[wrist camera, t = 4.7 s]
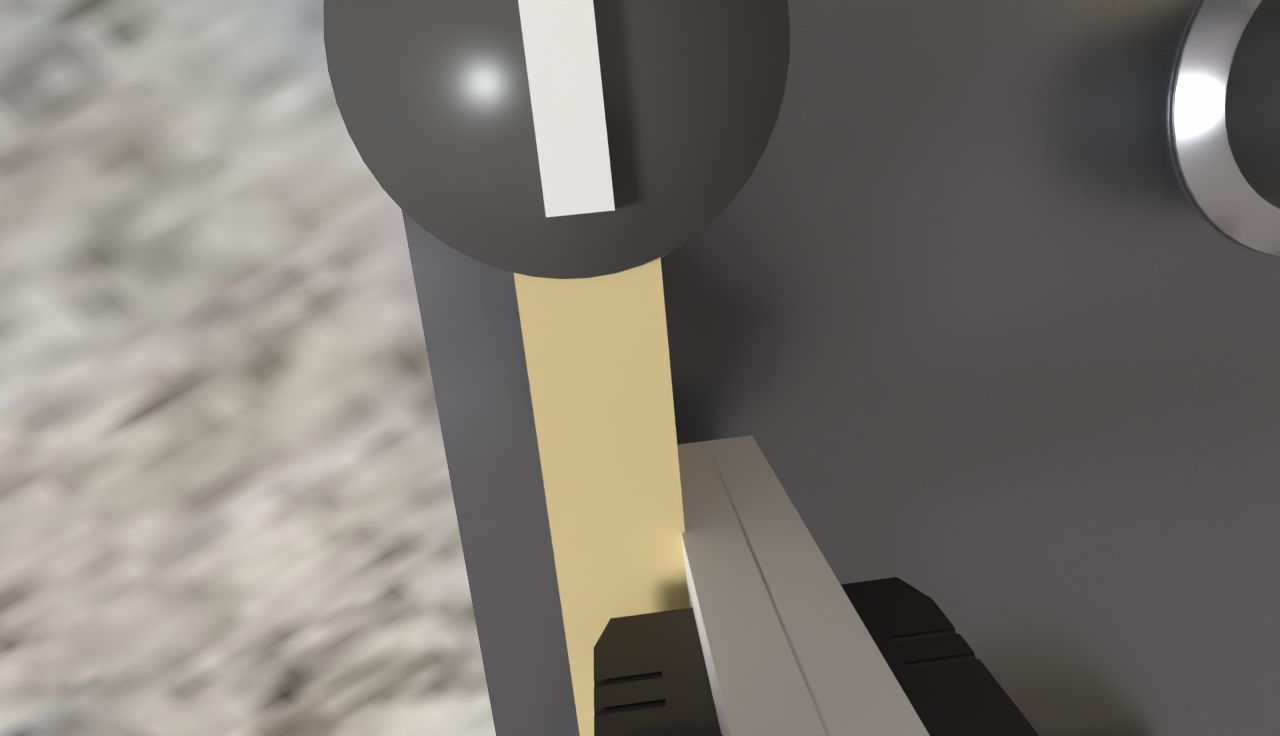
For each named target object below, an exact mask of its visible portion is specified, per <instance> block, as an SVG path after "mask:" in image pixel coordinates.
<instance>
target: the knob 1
mask: <svg viewBox="0 0 1280 736" xmlns="http://www.w3.org/2000/svg"><path fill="white" fill-rule="evenodd" d="M324 41H325V49H326V56H327V64H328V71H329V75H330V79H331V83H332V87H333V90H334V94H335V98H336V102H337V105H338V107H339V110H340V112H341V115H342V118H343V120H344V123H345V125H346V128H347V130H348V133H349V135H350V137H351V139H352V140H353V142H354V144H355V146H356V148H357V150H358V152H359V153H360V155H361V157H362V159H363V161H364V162H365V164H366V165H367V167H368V168H369V170H370V171H371V172H372V174H373V175H374V177H375V178H376V179H377V181H378V182H379V184H380V185H381V187H382V188H383V189H384V190H385V191H386V192H387V193H388V195H389V196H390V197H391V198H392V199H393V200H394V201H395V202H396V203H397V205H398V206H399V207H400V208H401V209H402V210H403V211H404V212H405V213H406V214H407V215H409V216H410V217H411V218H412V219H413V220H414V221H415V222H417V223H418V224H419V225H420V226H421V227H422V228H424V229H425V230H426V231H427V232H429V233H430V234H432V235H433V236H435V237H436V238H438V239H439V240H441V241H442V242H444V243H445V244H447V245H448V246H449V247H451V248H453V249H455V250H457V251H459V252H461V253H463V254H465V255H467V256H469V257H471V258H473V259H475V260H477V261H479V262H482V263H485V264H488V265H490V266H493V267H496V268H499V269H501V270H504V271H509V272H513V273H514V280H515V287H516V294H517V301H518V308H519V315H520V322H521V329H522V336H523V343H524V350H525V357H526V364H527V371H528V377H529V384H530V391H531V398H532V405H533V412H534V419H535V426H536V433H537V440H538V447H539V454H540V461H541V468H542V475H543V482H544V489H545V496H546V503H547V510H548V517H549V524H550V531H551V538H552V545H553V552H554V559H555V566H556V573H557V580H558V587H559V594H560V601H561V608H562V615H563V622H564V629H565V636H566V643H567V650H568V657H569V664H570V671H571V678H572V685H573V692H574V699H575V706H576V712H577V719H578V726H579V733H580V736H594V716H595V714H594V646H595V645H596V643H597V641H598V639H599V638H600V636H601V634H602V632H603V631H604V629H605V627H606V625H607V624H608V622H609V620H610V619H611V618H617V617H625V616H632V615H639V614H647V613H654V612H662V611H669V610H677V609H684V608H689V599H688V590H687V580H686V571H685V561H684V552H683V543H682V533H683V532H685V526H684V515H683V503H682V492H681V481H680V470H679V459H678V448H677V436H676V425H675V414H674V403H673V392H672V381H671V370H670V358H669V347H668V336H667V325H666V314H665V303H664V291H663V280H662V269H661V258H660V257H661V256H663V255H666V254H668V253H669V252H671V251H673V250H674V249H676V248H677V247H679V246H681V245H682V244H684V243H685V242H687V241H689V240H690V239H692V238H693V237H694V236H695V235H697V234H698V233H699V232H700V231H701V230H703V229H704V228H705V227H706V226H708V225H709V224H710V223H711V222H712V221H714V220H715V219H716V218H717V216H718V215H719V214H720V213H721V212H722V211H723V210H724V209H725V208H726V207H727V206H728V205H729V204H730V203H731V202H732V200H733V199H734V198H735V197H736V195H737V194H738V193H739V191H740V190H741V189H742V187H743V186H744V184H745V183H746V182H747V180H748V179H749V178H750V176H751V175H752V173H753V171H754V169H755V167H756V166H757V164H758V162H759V160H760V158H761V157H762V155H763V153H764V151H765V149H766V147H767V144H768V142H769V139H770V137H771V134H772V132H773V129H774V127H775V124H776V122H777V119H778V115H779V111H780V108H781V104H782V100H783V96H784V93H785V88H786V80H787V73H788V66H789V59H790V21H789V11H788V1H787V0H324Z"/></svg>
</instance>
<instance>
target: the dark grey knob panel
mask: <svg viewBox="0 0 1280 736" xmlns="http://www.w3.org/2000/svg"><path fill="white" fill-rule="evenodd" d="M787 1H788V11H789V21H790V59H789V66H788V73H787V80H786V88H785V93H784V96H783V100H782V104H781V108H780V111H779V115H778V119H777V122H776V124H775V127H774V129H773V132H772V134H771V137H770V139H769V142H768V144H767V147H766V149H765V151H764V153H763V155H762V157H761V158H760V160H759V162H758V164H757V166H756V167H755V169H754V171H753V173H752V175H751V176H750V178H749V179H748V180H747V182H746V183H745V184H744V186H743V187H742V189H741V190H740V191H739V193H738V194H737V195H736V197H735V198H734V199H733V200H732V202H731V203H730V204H729V205H728V206H727V207H726V208H725V209H724V210H723V211H722V212H721V213H720V214H719V215H718V216H717V218H716V219H715V220H714V221H712V222H711V223H710V224H709V225H708V226H706V227H705V228H704V229H703V230H701V231H700V232H699V233H698V234H697V235H695V236H694V237H693V238H692V239H690V240H689V241H687V242H685V243H684V244H682V245H681V246H679V247H677V248H676V249H674V250H673V251H671V252H669V253H668V254H666V255H663V256H661V257H660V258H661V269H662V280H663V291H664V303H665V314H666V325H667V336H668V347H669V358H670V370H671V381H672V392H673V403H674V414H675V425H676V436H677V445H679V444H687V443H695V442H702V441H710V440H718V439H726V438H734V437H742V436H749V435H752V436H753V438H754V439H755V441H756V443H757V444H758V446H759V448H760V450H761V451H762V453H763V455H764V456H765V458H766V460H767V461H768V463H769V465H770V466H771V468H772V470H773V472H774V473H775V475H776V477H777V478H778V480H779V482H780V483H781V485H782V487H783V488H784V490H785V492H786V493H787V495H788V497H789V499H790V500H791V502H792V504H793V505H794V507H795V509H796V510H797V512H798V514H799V515H800V517H801V519H802V521H803V522H804V524H805V526H806V527H807V529H808V531H809V532H810V534H811V536H812V537H813V539H814V541H815V543H816V544H817V546H818V548H819V549H820V551H821V553H822V554H823V556H824V558H825V559H826V561H827V563H828V564H829V566H830V568H831V570H832V571H833V573H834V575H835V576H836V578H837V580H838V581H839V583H840V584H847V583H855V582H862V581H870V580H877V579H885V578H892V577H898V578H899V579H901V580H903V581H904V582H906V583H907V584H909V585H911V586H912V587H914V588H916V589H917V590H919V591H921V592H922V593H924V594H925V595H927V596H929V597H930V598H932V599H933V600H934V602H935V603H936V604H937V605H938V607H939V608H940V609H941V610H942V612H943V613H944V614H945V616H946V617H947V618H948V619H949V621H950V622H951V623H952V624H953V626H954V627H955V631H956V633H957V634H960V635H961V636H962V637H963V639H964V640H965V641H966V642H967V644H968V645H969V646H970V647H971V649H972V650H973V651H974V653H975V657H976V659H980V660H981V662H982V663H983V664H984V665H985V667H986V668H987V669H988V670H989V672H990V673H991V674H992V676H993V677H994V678H995V679H996V681H997V682H998V683H999V685H1000V686H1001V687H1002V688H1003V690H1004V691H1005V692H1006V693H1007V695H1008V696H1009V697H1010V699H1011V700H1012V701H1013V702H1014V704H1015V705H1016V706H1017V708H1018V709H1019V710H1020V711H1021V713H1022V714H1023V715H1024V716H1025V718H1026V719H1027V720H1028V722H1029V723H1030V724H1031V725H1032V727H1033V728H1034V729H1035V730H1036V732H1037V733H1038V734H1039V736H1280V209H1279V208H1277V207H1275V206H1273V205H1271V204H1270V203H1269V202H1267V201H1266V200H1264V199H1263V198H1262V197H1260V196H1259V195H1258V194H1257V193H1256V191H1255V190H1254V189H1253V188H1252V187H1251V186H1250V185H1249V184H1248V182H1247V181H1246V179H1245V178H1244V177H1243V175H1242V174H1241V172H1240V170H1239V168H1238V166H1237V164H1236V162H1235V160H1234V158H1233V155H1232V152H1231V148H1230V145H1229V142H1228V137H1227V131H1226V124H1225V96H1226V86H1227V81H1228V76H1229V71H1230V66H1231V63H1232V60H1233V57H1234V54H1235V51H1236V48H1237V45H1238V43H1239V41H1240V38H1241V36H1242V34H1243V32H1244V29H1245V27H1246V25H1247V24H1248V22H1249V20H1250V18H1251V17H1252V15H1253V13H1254V11H1255V10H1256V8H1257V7H1258V5H1259V4H1260V3H1261V1H1262V0H787ZM402 213H403V219H404V224H405V230H406V235H407V241H408V246H409V252H410V258H411V263H412V269H413V274H414V280H415V285H416V291H417V297H418V302H419V308H420V313H421V319H422V324H423V330H424V336H425V341H426V347H427V352H428V358H429V363H430V369H431V375H432V380H433V386H434V391H435V397H436V402H437V408H438V414H439V419H440V425H441V430H442V436H443V441H444V447H445V453H446V458H447V464H448V469H449V475H450V480H451V486H452V491H453V497H454V503H455V508H456V514H457V519H458V525H459V530H460V536H461V542H462V547H463V553H464V558H465V564H466V569H467V575H468V581H469V586H470V592H471V597H472V603H473V608H474V614H475V620H476V625H477V631H478V636H479V642H480V647H481V653H482V659H483V664H484V670H485V675H486V681H487V686H488V692H489V698H490V703H491V709H492V714H493V720H494V725H495V731H496V736H580V733H579V726H578V719H577V712H576V706H575V699H574V692H573V685H572V678H571V671H570V664H569V657H568V650H567V643H566V636H565V629H564V622H563V615H562V608H561V601H560V594H559V587H558V580H557V573H556V566H555V559H554V552H553V545H552V538H551V531H550V524H549V517H548V510H547V503H546V496H545V489H544V482H543V475H542V468H541V461H540V454H539V447H538V440H537V433H536V426H535V419H534V412H533V405H532V398H531V391H530V384H529V377H528V371H527V364H526V357H525V350H524V343H523V336H522V329H521V322H520V315H519V308H518V301H517V294H516V287H515V280H514V273H513V272H509V271H504V270H501V269H499V268H496V267H493V266H490V265H488V264H485V263H482V262H479V261H477V260H475V259H473V258H471V257H469V256H467V255H465V254H463V253H461V252H459V251H457V250H455V249H453V248H451V247H449V246H448V245H447V244H445V243H444V242H442V241H441V240H439V239H438V238H436V237H435V236H433V235H432V234H430V233H429V232H427V231H426V230H425V229H424V228H422V227H421V226H420V225H419V224H418V223H417V222H415V221H414V220H413V219H412V218H411V217H410V216H409V215H407V214H406V213H405V212H404V211H403V210H402Z"/></svg>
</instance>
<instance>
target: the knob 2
mask: <svg viewBox="0 0 1280 736" xmlns="http://www.w3.org/2000/svg"><path fill="white" fill-rule="evenodd" d="M1225 124H1226V131H1227V137H1228V142H1229V145H1230V148H1231V152H1232V155H1233V158H1234V160H1235V162H1236V164H1237V166H1238V168H1239V170H1240V172H1241V174H1242V175H1243V177H1244V178H1245V179H1246V181H1247V182H1248V184H1249V185H1250V186H1251V187H1252V188H1253V189H1254V190H1255V191H1256V193H1257V194H1258V195H1259V196H1260V197H1262V198H1263V199H1264V200H1266V201H1267V202H1269V203H1270V204H1271V205H1273V206H1275V207H1277V208H1279V209H1280V0H1262V1H1261V3H1260V4H1259V5H1258V7H1257V8H1256V10H1255V11H1254V13H1253V15H1252V17H1251V18H1250V20H1249V22H1248V24H1247V25H1246V27H1245V29H1244V32H1243V34H1242V36H1241V38H1240V41H1239V43H1238V45H1237V48H1236V51H1235V54H1234V57H1233V60H1232V63H1231V66H1230V71H1229V76H1228V81H1227V86H1226V96H1225Z"/></svg>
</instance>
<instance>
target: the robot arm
mask: <svg viewBox="0 0 1280 736" xmlns="http://www.w3.org/2000/svg"><path fill="white" fill-rule="evenodd" d="M677 448H678V459H679V470H680V481H681V492H682V503H683V515H684V526H685V532H683V533H682V543H683V552H684V561H685V571H686V580H687V590H688V599H689V608H684V609H677V610H669V611H662V612H654V613H647V614H639V615H632V616H625V617H617V618H611V619H610V620H609V622H608V624H607V625H606V627H605V629H604V631H603V632H602V634H601V636H600V638H599V639H598V641H597V643H596V645H595V646H594V714H595V716H594V736H1039V734H1038V733H1037V732H1036V730H1035V729H1034V728H1033V727H1032V725H1031V724H1030V723H1029V722H1028V720H1027V719H1026V718H1025V716H1024V715H1023V714H1022V713H1021V711H1020V710H1019V709H1018V708H1017V706H1016V705H1015V704H1014V702H1013V701H1012V700H1011V699H1010V697H1009V696H1008V695H1007V693H1006V692H1005V691H1004V690H1003V688H1002V687H1001V686H1000V685H999V683H998V682H997V681H996V679H995V678H994V677H993V676H992V674H991V673H990V672H989V670H988V669H987V668H986V667H985V665H984V664H983V663H982V662H981V660H980V659H976V657H975V653H974V651H973V650H972V649H971V647H970V646H969V645H968V644H967V642H966V641H965V640H964V639H963V637H962V636H961V635H960V634H957V633H956V631H955V627H954V626H953V624H952V623H951V622H950V621H949V619H948V618H947V617H946V616H945V614H944V613H943V612H942V610H941V609H940V608H939V607H938V605H937V604H936V603H935V602H934V600H933V599H932V598H930V597H929V596H927V595H925V594H924V593H922V592H921V591H919V590H917V589H916V588H914V587H912V586H911V585H909V584H907V583H906V582H904V581H903V580H901V579H899V578H898V577H892V578H885V579H877V580H870V581H862V582H855V583H847V584H840V583H839V581H838V580H837V578H836V576H835V575H834V573H833V571H832V570H831V568H830V566H829V564H828V563H827V561H826V559H825V558H824V556H823V554H822V553H821V551H820V549H819V548H818V546H817V544H816V543H815V541H814V539H813V537H812V536H811V534H810V532H809V531H808V529H807V527H806V526H805V524H804V522H803V521H802V519H801V517H800V515H799V514H798V512H797V510H796V509H795V507H794V505H793V504H792V502H791V500H790V499H789V497H788V495H787V493H786V492H785V490H784V488H783V487H782V485H781V483H780V482H779V480H778V478H777V477H776V475H775V473H774V472H773V470H772V468H771V466H770V465H769V463H768V461H767V460H766V458H765V456H764V455H763V453H762V451H761V450H760V448H759V446H758V444H757V443H756V441H755V439H754V438H753V436H752V435H749V436H742V437H734V438H726V439H718V440H710V441H702V442H695V443H687V444H679V445H677Z"/></svg>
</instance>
